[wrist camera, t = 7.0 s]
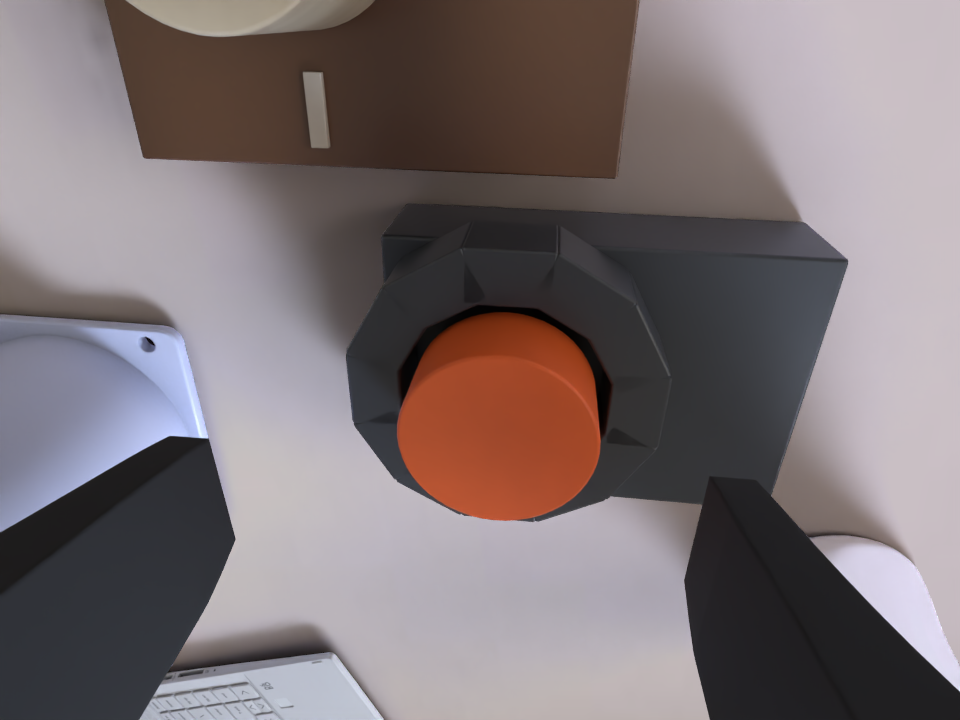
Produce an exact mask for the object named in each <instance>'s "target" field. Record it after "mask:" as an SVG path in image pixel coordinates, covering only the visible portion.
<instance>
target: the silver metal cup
mask: <svg viewBox="0 0 960 720" xmlns="http://www.w3.org/2000/svg"><path fill="white" fill-rule="evenodd" d="M809 539H810V540H811V541H812V542H813V543H814V544H815V545H816V546H817V547H818V549H819V550H820V551H821V552H822V553H823V554H824V555H825V556H826V557H827V558H828V560H829V561H830V562H831V563H832V564H833V565H834V566H835V567H836V568H837V569H838V570H839V571H840V572H841V573H842V575H843V576H844V577H845V578H846V579H847V580H848V581H849V582H850V583H851V584H852V585H853V586H854V587H855V588H856V589H857V590H858V591H859V593H860V594H861V595H862V596H863V597H864V598H865V599H866V600H867V601H868V602H869V603H870V604H871V605H872V606H873V607H874V608H875V609H876V610H877V611H878V612H879V613H880V614H881V615H882V616H883V617H884V618H885V619H886V620H887V621H888V622H889V623H890V624H891V625H892V626H893V627H894V628H895V629H896V630H897V631H898V632H899V633H900V634H901V635H902V636H903V637H904V638H905V639H906V640H907V641H908V642H909V643H910V644H911V645H912V646H913V647H914V648H915V649H916V650H917V651H918V652H919V653H920V654H921V655H922V656H923V657H924V658H925V659H926V660H927V661H928V662H929V663H930V664H931V665H932V666H934V667H935V668H936V669H937V670H938V671H939V672H940V673H941V674H942V675H943V676H944V677H945V678H946V679H947V680H948V681H949V682H950V683H951V684H952V685H953V686H954V687H956V688H957V689H958V690H959V691H960V664H959V662H958V660H957V658H956V657H955V655H954V653H953V651H952V650H951V647H950V645H949V643H948V641H947V639H946V636H945V634H944V632H943V629H942V627H941V624H940V621H939V618H938V616H937V613H936V610H935V608H934V605H933V602H932V599H931V597H930V594H929V592H928V589H927V587H926V585H925V582H924V580H923V578H922V576H921V575H920V573H919V571H918V570H917V568H916V567H915V566H914V564H913V563H912V562H911V561H910V560H909V559H908V558H906V557H905V556H904V555H903V554H902V553H900V552H899V551H897V550H896V549H894V548H892V547H890V546H888V545H886V544H883V543H881V542H878V541H874V540H871V539H867V538H862V537H855V536H845V535H827V536H817V537H810V538H809Z"/></svg>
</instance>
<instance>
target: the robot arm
mask: <svg viewBox="0 0 960 720" xmlns="http://www.w3.org/2000/svg"><path fill="white" fill-rule="evenodd" d="M146 337H147V338H149V339H151V340H152V341H153V343H154V344H155V346H154V345H151V344H150V343H149V342H148V341H147V339H146ZM234 542H235V535H234V532H233V528H232V524H231V520H230V517H229V513H228V509H227V505H226V502H225V498H224V494H223V490H222V487H221V483H220V479H219V475H218V472H217V468H216V464H215V461H214V457H213V453H212V449H211V446H210V442H209V438H208V434H207V430H206V426H205V422H204V418H203V414H202V410H201V406H200V402H199V398H198V394H197V390H196V386H195V382H194V378H193V374H192V370H191V366H190V362H189V358H188V354H187V350H186V346H185V342H184V340H183V338H182V336H181V334H180V333H179V332H178V331H177V330H175V329H173V328H172V327H169V326H165V325H150V324H136V323H122V322H107V321H93V320H78V319H64V318H49V317H35V316H20V315H6V314H0V720H139V719H140V718H141V716H142V714H143V713H144V711H145V709H146V708H147V706H148V704H149V703H150V701H151V699H152V698H153V696H154V694H155V692H156V691H157V689H158V687H159V686H160V684H161V682H162V681H163V679H164V677H165V676H166V674H167V672H168V671H169V669H170V667H171V666H172V664H173V662H174V661H175V659H176V657H177V656H178V654H179V652H180V651H181V649H182V647H183V645H184V644H185V642H186V640H187V639H188V637H189V635H190V633H191V632H192V630H193V628H194V627H195V625H196V623H197V622H198V620H199V618H200V616H201V615H202V613H203V611H204V609H205V607H206V606H207V604H208V602H209V600H210V598H211V595H212V593H213V591H214V589H215V587H216V584H217V582H218V580H219V578H220V576H221V573H222V571H223V569H224V566H225V564H226V561H227V559H228V556H229V554H230V552H231V549H232V547H233V544H234ZM684 582H685V590H686V599H687V607H688V615H689V623H690V630H691V637H692V644H693V651H694V656H695V660H696V665H697V669H698V673H699V677H700V681H701V685H702V689H703V693H704V697H705V701H706V705H707V709H708V714H709V718H710V720H960V691H959V690H958V689H957V688H956V687H954V686H953V685H952V684H951V683H950V682H949V681H948V680H947V679H946V678H945V677H944V676H943V675H942V674H941V673H940V672H939V671H938V670H937V669H936V668H935V667H934V666H932V665H931V664H930V663H929V662H928V661H927V660H926V659H925V658H924V657H923V656H922V655H921V654H920V653H919V652H918V651H917V650H916V649H915V648H914V647H913V646H912V645H911V644H910V643H909V642H908V641H907V640H906V639H905V638H904V637H903V636H902V635H901V634H900V633H899V632H898V631H897V630H896V629H895V628H894V627H893V626H892V625H891V624H890V623H889V622H888V621H887V620H886V619H885V618H884V617H883V616H882V615H881V614H880V613H879V612H878V611H877V610H876V609H875V608H874V607H873V606H872V605H871V604H870V603H869V602H868V601H867V600H866V599H865V598H864V597H863V596H862V595H861V594H860V593H859V591H858V590H857V589H856V588H855V587H854V586H853V585H852V584H851V583H850V582H849V581H848V580H847V579H846V578H845V577H844V576H843V575H842V573H841V572H840V571H839V570H838V569H837V568H836V567H835V566H834V565H833V564H832V563H831V562H830V561H829V560H828V558H827V557H826V556H825V555H824V554H823V553H822V552H821V551H820V550H819V549H818V547H817V546H816V545H815V544H814V543H813V542H812V541H811V540H810V539H809V538H808V537H807V535H806V534H805V533H804V532H803V531H802V530H801V529H800V528H799V527H798V525H797V524H796V523H795V522H794V521H793V520H792V519H791V518H790V517H789V515H788V514H787V513H786V512H785V511H784V510H783V509H782V508H781V507H780V505H779V504H778V503H777V502H776V501H775V500H774V499H773V498H772V497H771V495H770V494H769V493H768V492H767V491H766V490H765V489H764V488H763V487H762V486H761V485H760V483H759V482H758V481H757V480H755V479H742V478H728V477H715V476H709V480H708V484H707V488H706V492H705V497H704V501H703V505H702V509H701V513H700V517H699V521H698V526H697V530H696V534H695V538H694V542H693V546H692V550H691V555H690V559H689V563H688V567H687V571H686V575H685V580H684Z"/></svg>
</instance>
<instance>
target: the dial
mask: <svg viewBox="0 0 960 720" xmlns="http://www.w3.org/2000/svg"><path fill="white" fill-rule="evenodd" d="M126 1H127V2H129V3H130V4H132V5H133V6H135V7H136V8H137V9H139V10H140V11H142V12H143V13H144V14H146V15H148V16H150V17H152V18H154V19H155V20H157V21H159V22H161V23H163V24H165V25H168V26H170V27H173V28H176V29H178V30H181V31H184V32H188V33H192V34H196V35H202V36H212V37H229V36H244V35H257V34H270V33H284V32H297V31H310V30H322V29H326V28H331V27H335V26H338V25H340V24H343V23H345V22H347V21H349V20H351V19H353V18H354V17H356V16H358V15H359V14H361V13H362V12H363V11H364V10H365V9H367V8H368V7H369V6H370V5H371V4H372V3H373V2H374V1H375V0H126Z"/></svg>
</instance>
